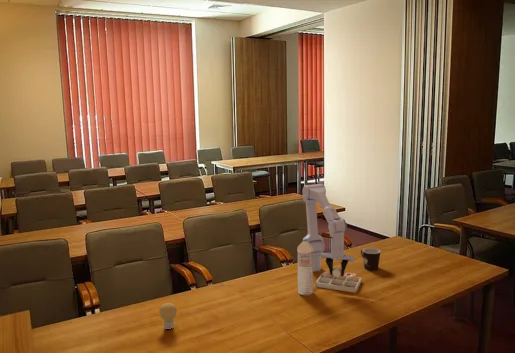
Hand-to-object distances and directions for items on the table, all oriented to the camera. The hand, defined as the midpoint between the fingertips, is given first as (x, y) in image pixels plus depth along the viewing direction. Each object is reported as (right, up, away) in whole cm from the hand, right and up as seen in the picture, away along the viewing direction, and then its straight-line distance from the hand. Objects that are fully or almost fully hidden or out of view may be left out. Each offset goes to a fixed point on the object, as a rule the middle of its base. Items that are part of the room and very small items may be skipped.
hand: (337, 274), depth 197 cm
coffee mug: (+21, -2, +23) cm, 31 cm away
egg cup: (+8, -4, +13) cm, 16 cm away
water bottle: (-14, -8, -2) cm, 16 cm away
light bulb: (-69, -14, -30) cm, 77 cm away
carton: (+1, -6, +4) cm, 7 cm away
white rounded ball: (0, -1, 0) cm, 1 cm away
